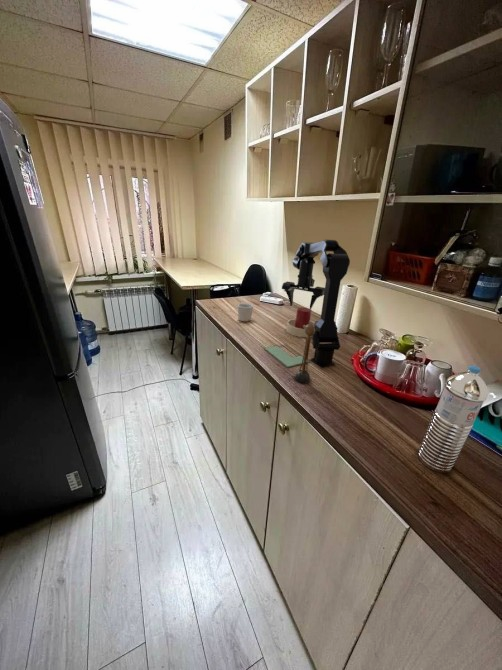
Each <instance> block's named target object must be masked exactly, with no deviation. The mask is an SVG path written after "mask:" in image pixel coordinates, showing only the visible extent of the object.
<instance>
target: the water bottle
mask: <svg viewBox="0 0 502 670" xmlns="http://www.w3.org/2000/svg"><path fill="white" fill-rule="evenodd" d="M481 371H482V368H480V367H479V366H477V365H474V364H473V365H468V369H467V371H464V372H463V371H462V372H458V373H455V374H453V375H451V376H449V377H448V378H447V379H446V381H445V384H444V389H443V391H442V393H441V396H440V398H439V401H438V402H437V406H436V407H435V409H434V411H433V414H432V416H431V418H430V421H429V423H428V426H427V428H426V431H425V433H424V435H423V438H422V440H421V443H420V445H419V448H418V452H417V456H418V459H419V460H420V462H421V463H422V464H423V465H424V466H425V467H426V468H428V469H429V470H431V471H434V472H436V473H440V474H446V473H449V472H450V471H452V469H453V467H454V466H455V464H456V461H457V460H458V458H459V455H460V454H461V452H462V449H463V447H464V445H465V443H466V441H467V439H468V437H469V435H470V432H471V431H472V429H473V428H474V427H473V426H474V423H475V421H476V419H477V416H478V415H479V413H480V411H481V408H482V406H483V404H484V402H485V401H486V400H487V399H488V396H489V390H488V387H487V384H486V382H485V381H484V380H483V378H482V377H480V376H479V375H480V373H481Z"/></svg>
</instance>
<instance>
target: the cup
mask: <svg viewBox="0 0 502 670" xmlns="http://www.w3.org/2000/svg"><path fill="white" fill-rule="evenodd" d="M253 311H254V304H252V303H248V302H240V303H238V304H237V318H238V320H239V321H240V322H250V321H251V319H252V316H253Z"/></svg>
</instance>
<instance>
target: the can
mask: <svg viewBox="0 0 502 670" xmlns="http://www.w3.org/2000/svg"><path fill="white" fill-rule="evenodd" d="M295 314H296V316H295V319H296V322H295V327H296V328H300V329H304V328H303V325H308V324H310V321H311V317H312V308H311V309H310V307H304V306H303V307H301V306H300V307H297V308H296V313H295Z"/></svg>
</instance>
